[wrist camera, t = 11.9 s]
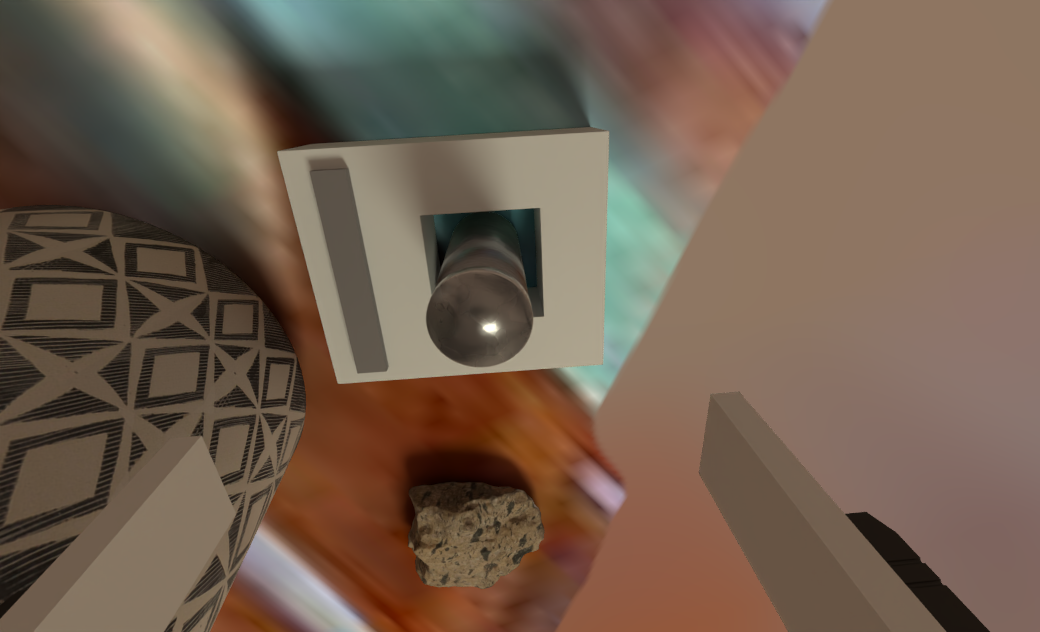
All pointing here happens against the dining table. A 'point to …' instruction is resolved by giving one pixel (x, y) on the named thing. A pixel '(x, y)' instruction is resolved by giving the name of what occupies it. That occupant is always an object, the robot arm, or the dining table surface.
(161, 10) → the dining table surface
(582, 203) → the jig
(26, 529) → the planter
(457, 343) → the metal cylinder
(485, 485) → the rock
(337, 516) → the dining table surface
